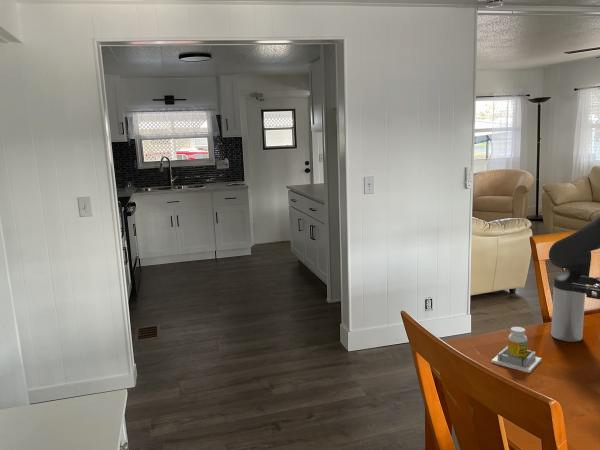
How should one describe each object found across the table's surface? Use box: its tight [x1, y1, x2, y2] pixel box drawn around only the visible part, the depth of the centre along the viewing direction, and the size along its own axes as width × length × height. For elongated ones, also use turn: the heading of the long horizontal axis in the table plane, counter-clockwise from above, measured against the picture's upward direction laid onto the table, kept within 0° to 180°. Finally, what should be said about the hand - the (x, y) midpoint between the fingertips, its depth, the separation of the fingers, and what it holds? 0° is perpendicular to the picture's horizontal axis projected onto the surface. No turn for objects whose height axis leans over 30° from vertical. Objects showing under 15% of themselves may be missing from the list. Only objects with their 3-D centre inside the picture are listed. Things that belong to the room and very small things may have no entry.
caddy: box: [490, 345, 543, 374], centre depth 150 cm, size 10×11×3 cm
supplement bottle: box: [507, 326, 528, 360], centre depth 149 cm, size 5×5×10 cm
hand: (575, 283), depth 141 cm, fingers open, 8 cm apart
